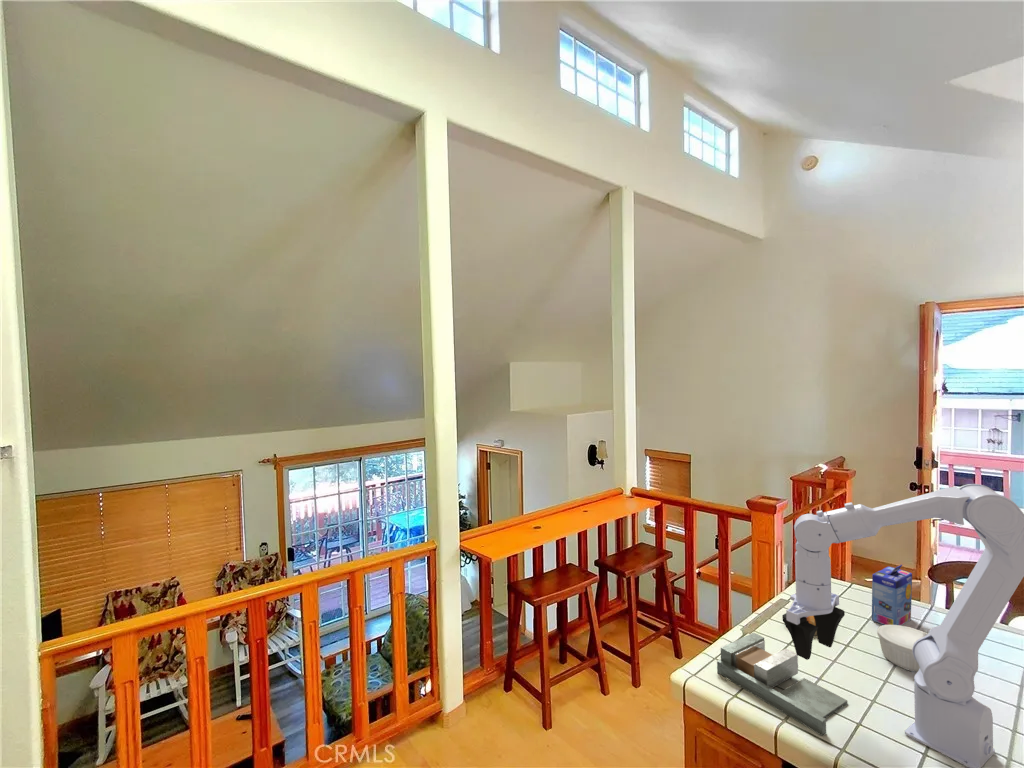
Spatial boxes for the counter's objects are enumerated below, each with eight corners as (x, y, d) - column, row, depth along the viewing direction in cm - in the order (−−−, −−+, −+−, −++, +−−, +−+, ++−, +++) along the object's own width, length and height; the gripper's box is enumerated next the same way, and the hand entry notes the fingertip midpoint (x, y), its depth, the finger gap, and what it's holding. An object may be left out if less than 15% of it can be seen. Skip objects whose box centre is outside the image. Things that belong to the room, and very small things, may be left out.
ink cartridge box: (897, 631, 116) (896, 571, 116) (870, 621, 120) (869, 564, 120) (913, 619, 121) (912, 563, 121) (887, 611, 126) (886, 556, 125)
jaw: (797, 673, 98) (797, 654, 98) (767, 690, 93) (766, 670, 93) (784, 666, 101) (783, 647, 101) (753, 682, 95) (753, 663, 95)
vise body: (859, 709, 89) (858, 683, 89) (822, 735, 82) (822, 707, 82) (754, 654, 107) (753, 632, 107) (717, 672, 101) (716, 649, 101)
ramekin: (958, 680, 97) (958, 654, 97) (896, 674, 99) (895, 649, 99) (923, 649, 108) (922, 626, 108) (867, 644, 110) (867, 622, 110)
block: (777, 675, 99) (776, 656, 99) (756, 686, 96) (756, 667, 96) (759, 666, 103) (758, 647, 103) (738, 676, 100) (738, 657, 100)
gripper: (812, 564, 97) (813, 630, 97) (769, 580, 90) (771, 651, 90) (850, 576, 91) (851, 646, 91) (808, 594, 84) (809, 671, 84)
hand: (814, 650), depth 90 cm, fingers open, 7 cm apart
